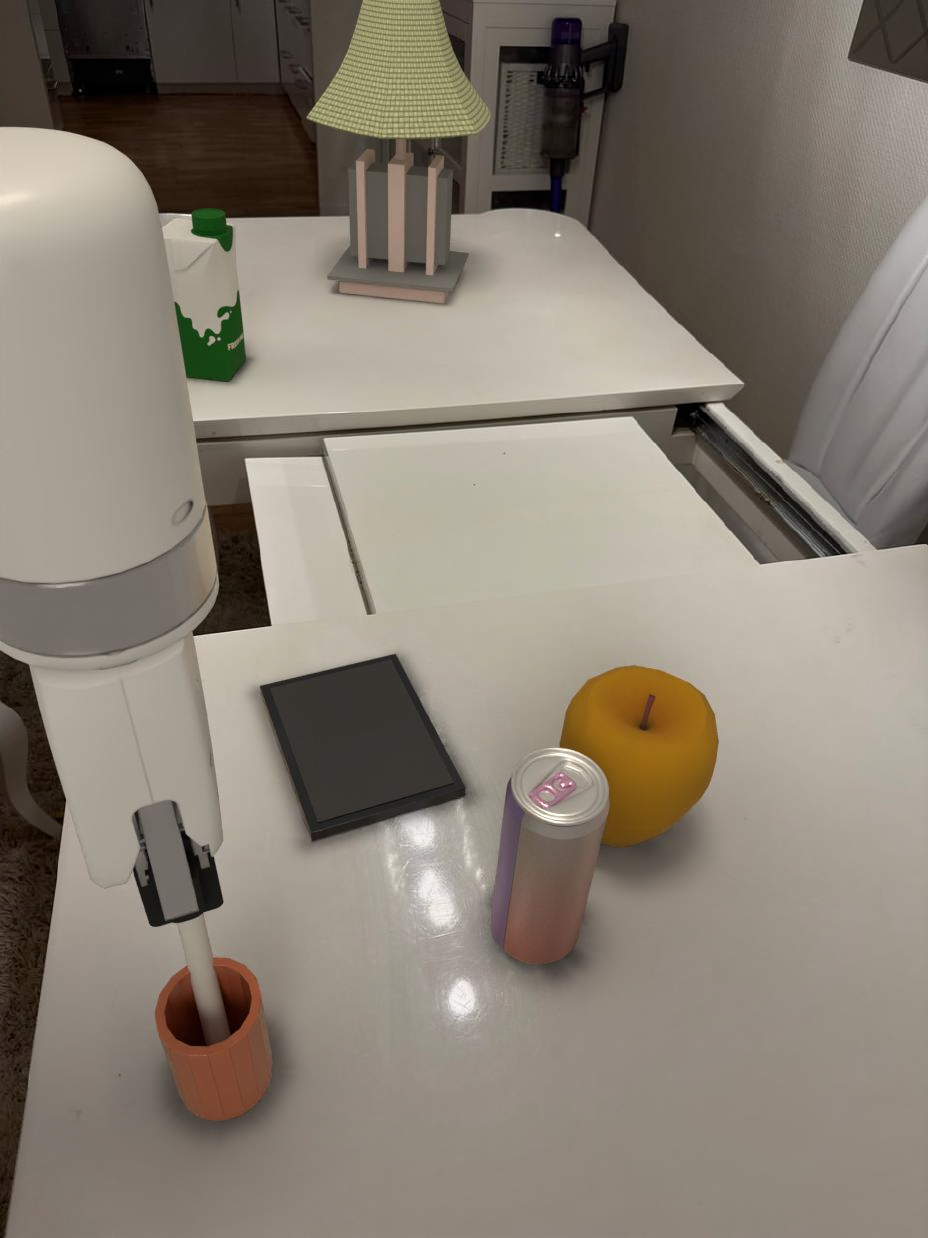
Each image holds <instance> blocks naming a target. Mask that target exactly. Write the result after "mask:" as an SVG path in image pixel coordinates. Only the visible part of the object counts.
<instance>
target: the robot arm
mask: <svg viewBox="0 0 928 1238" xmlns="http://www.w3.org/2000/svg"><path fill="white" fill-rule="evenodd" d="M162 228H163V226H162V222H161V217H160V212H159V208H158V204H157V201H156V198H155V195H154V193H153V190H152V188H151V185H150V184H149V182H148V181H147V179H146V177H145V176H144V174H143V172H142V170H140V169H139V167H138V166H137V165H136V164H135V163H134V162H133V160H132V159H130V158H129V157H128V156H127V155H126V154H124V153H123V152H121V151H119V150H118V149H117V148H115V147H114V146H113V145H110V144H108V143H107V142H105V141H101V140H99V139H95V138H92V137H89V136H86V135H82V134H78V133H74V132H70V131H64V130H60V129H59V130H58V129H52V128H42V127H41V128H40V127H27V126H26V127H23V126H0V651H1V652H2V653H4V654H5V655H7V656H9V657H10V658H12V659H14V660H16V661H19V662H22V663H25V664H26V665H28V666H29V670H30V675H31V679H32V683H33V687H34V692H35V695H36V700H37V704H38V708H39V712H40V716H41V719H42V722H43V723H42V724H43V726H44V730H45V734H46V737H47V741H48V744H49V749H50V751H51V755H52V757H53V762H54V765H55V768H56V772H57V775H58V778H59V782H60V785H61V788H62V791H63V793H64V794H63V795H64V797H65V800H66V804H67V806H68V809H69V813H70V816H71V819H72V822H73V826H74V829H75V832H76V836H77V839H78V842H79V845H80V846H79V847H80V848H81V852H82V856H83V859H84V862H85V866H86V869H87V873H88V876H89V879H90V881H91V882H92V883H94V884H95V885H96V886H98V887H100V888H102V889H104V890H105V889H110V888H113V887H117V886H122V885H125V884H126V885H127V883H128V882H129V880H130V878H131V876H132V873H133V877H134V881H135V883H136V887H137V889H138V893H139V896H140V899H141V903H142V905H143V908H144V912H145V915H146V919H147V921H148V924H149V926H151V928H159V927H163V926H166V925H169V924H177V923H182V922H186V921H189V920H192V919H195V918H197V917H199V916H200V915H202V914H205V913H208V912H210V911H213V910H218V909H219V908H220V907H222V906H223V905H224V901H225V900H224V897H223V891H222V887H221V883H220V878H219V874H218V869H217V865H216V859H215V855H216V854H217V852H218V851H219V850H220V848H221V847H222V845H223V842H224V830H223V820H222V813H221V805H220V804H221V802H220V795H219V786H218V779H217V773H216V765H215V758H214V749H213V743H212V736H211V731H210V724H209V717H208V711H207V704H206V698H205V693H204V688H203V683H202V682H203V681H202V675H201V671H200V670H201V669H200V665H199V659H198V653H197V648H196V643H195V637H194V633H193V632H194V630H195V629H197V627H198V626H199V625H200V624H202V622H203V621H204V620H205V619H206V618H207V616H208V615H209V613H210V612H211V610H212V609H213V608H214V605H215V603H216V601H217V598H218V597H217V596H218V595H219V589H220V579H219V572H218V565H217V559H216V552H215V546H214V542H213V541H214V540H213V534H212V529H211V528H212V527H211V523H210V522H211V521H210V515H209V508H208V504H207V498H206V495H205V490H204V482H203V476H202V470H201V463H200V458H199V457H200V456H199V451H198V450H199V449H198V444H197V438H196V430H195V424H194V418H193V411H192V405H191V397H190V392H189V385H188V380H187V379H188V377H186V372H185V366H184V360H183V354H182V347H181V341H180V335H179V329H178V322H177V316H176V310H175V304H174V298H173V291H172V285H171V279H170V273H169V267H168V260H167V254H166V248H165V242H164V235H163V231H162Z"/></svg>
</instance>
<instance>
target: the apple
mask: <svg viewBox="0 0 928 1238" xmlns="http://www.w3.org/2000/svg"><path fill="white" fill-rule="evenodd" d="M717 725H718V724H717V719H716V714H715V712H714V710H713V708H712V706H711V704H710V702H709V701H708V699H707V696H706V695H705V694H704V693H703V692H702V691H701V690H699V689H698V688H697V687H696V686H695V685H693V684H692V683H690V682H689V681H687V680H684V679H682V678H681V677H678V676H676V675H673V674H671V673H669V672H666V671H664V670H661V669H657V668H652V667H646V666H641V665H636V664H633V665H632V664H631V665H625V666H617V667H614V668H612V669H610V670H607V671H605V672H603V673H600V674H598V675H596V676H592V677H590V678H588V679H586V681H585V682H584V684H583V685H582V686H581V687H580V688H579V690H578V691H577V692H576V693H575V694H574V695H573V696H572V698H571V700H570V702H569V704H568V706H567V708H566V710H565V714H564V720H563V725H562V730H561V734H560V740H559V748H566V749H571V750H574V751H577V752H579V753H581V754H583V755H585V756H587V757H589V758H590V759H591V760H593V761H594V762H595V763H596V764H597V765H598V766H599V767H600V768H601V770H602V771H603V773H604V774H605V776H606V778H607V781H608V785H609V801H610V805H609V811H608V816H607V820H606V824H605V828H604V832H603V837H602V841H601V844H602V845H606V846H609V847H613V848H616V849H620V848H630V847H632V846H635V845H638V844H640V843H642V842H646V841H648V840H651V839H654V838H656V837H658V836H660V835H661V834H663V833H665V832H666V831H667V830H669V829H670V828H671V827H673V826H675V825H676V824H677V823H678V822H679V821H680V820H682V818H683V817H684V816H685V815H686V814H688V813H689V811H690V810H691V809H692V808H693V807H694V806H695V805H696V804H697V803H698V802H700V800H701V799H702V797H703V796H704V794H705V792H706V791H707V790H708V788H709V786H710V783H711V781H712V778H713V776H714V771H715V767H716V765H717V760H718V759H717V758H718V751H719V744H720V739H719V732H718V727H717Z"/></svg>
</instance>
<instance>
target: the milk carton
mask: <svg viewBox="0 0 928 1238" xmlns="http://www.w3.org/2000/svg"><path fill="white" fill-rule="evenodd" d="M190 216H191V219H190V218H189V219H188V218H180V217H175V218H173V219H172V220H170V222H168V223H167V224H166V225H164V226H162V231H163V235H164V242H165V248H166V254H167V260H168V267H169V273H170V279H171V285H172V291H173V298H174V304H175V310H176V316H177V322H178V329H179V335H180V341H181V347H182V354H183V360H184V366H185V372H186V378H196V379H202V380H203V379H204V380H210V381H212V380H213V381H219V382H230V381H231V379H232V378H233V377H234V375H236V373H237V372H238V370H240V368H241V367H242V365H243V364H244V363H245V362H246V360H247V355H246V344H245V334H244V333H245V332H244V323H243V314H242V313H243V312H242V305H241V295H240V285H239V276H238V275H239V274H238V266H237V244H236V243H237V241H236V239H237V237H236V224H235V222H234V223H233V222H227V217H226V212H225V211H224V210H222V209H219V208H213V207H212V208H209V207H205V208H199V209H196V210H193V211H192V212H191V213H190Z"/></svg>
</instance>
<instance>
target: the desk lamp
mask: <svg viewBox="0 0 928 1238" xmlns="http://www.w3.org/2000/svg"><path fill="white" fill-rule="evenodd" d="M349 43H350V44H349V46H348V49H347V52H346V53H345V55H344V58H343V60H342V62H341V65H340V66H339V69H338V70H337V72H336V73H335V75H334V77H333V78H332V80H331V81H330V83H329V85H328V86H327V88H326V89H325V90H324V92H323V93H322V95H321V96H320V97H319V99H318V101H317V102H316V103H315V105H314V106H313V108H312V109H311V110H310V111H309V113H308V114H307V115H306V117H305V118H306V119H307V120H308V121H310V122H313V123H316V124H318V125H321V126H324V127H328V128H331V129H335V130H337V131H342V132H346V133H349V134H354V135H358V136H363V137H368V138H376V139H381V140H382V139H383V140H395V154H394V155H393V157H392V158H391V159H390V161H389V162H388V163H387V162H376V150H375V149H374V148H366V149H365V150H364V152H363V153H361V154H360V156H359V157H358V158H357V159H356V160H355V161H354V162H353V163H352V164H351V165H350V166H349V168H347V182H348V185H347V186H348V216H349V217H348V218H349V245H348V247H347V249H345V251H344V252H343V254H342V255H341V257H340V258H339V259H338V261H337V262H336V263H335V265H334V266H333V267H332V269H331V270H330V271H329V273H328V274H327V275H326V276H327V280H328V281H338V282H339V294H349V295H358V296H368V297H376V298H377V297H379V298H387V299H397V300H405V301H406V300H407V301H414V302H415V301H417V302H425V303H427V302H428V303H435V304H445V302H446V300H447V297H448V295H449V293H454V291H455V288H456V287H457V285H458V282H459V280H460V277H461V275H462V272H463V270H464V267H465V265H466V263H467V261H468V258H469V254H470V253H469V252H465V251H464V252H463V251H454V250H451V231H452V207H453V204H452V203H453V180H454V179H453V178H454V177H453V176H454V168H453V169H452V168H445V167H444V165H445V156H444V155H439V154H436V155H435V157H434V158H433V160H432V161H431V163H430V164H429V165H428V166H420V165H414V159H415V157H414V156H415V155H414V152H407V140H422V139H425V140H426V139H444V138H445V139H447V138H455V137H456V138H457V137H466V136H467V137H468V136H475V135H477V134H479V133H481V131H482V130H483V129H485V127H486V126H487V125H488V123H489V121H490V119H491V117H492V116H491V110H490V109H489V107H488V106H487V104H486V103H485V102H484V101H483V99H482V98H481V97H480V95H479V94H478V92H477V91H476V89H475V88H474V87H473V84H471V82H470V80H469V78H468V77H467V76H466V74H465V72H464V71H463V69H462V67H461V65H460V63H459V60H458V58H457V56H456V54H455V51H454V49H453V46H452V42H451V39H450V36H449V33H448V30H447V25H446V22H445V19H444V14H443V10H442V6H441V3H440V0H362V2H361V6H360V10H359V13H358V17H357V20H356V25H355V29H354V31H353V34H352V38H351V40H350V42H349Z"/></svg>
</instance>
